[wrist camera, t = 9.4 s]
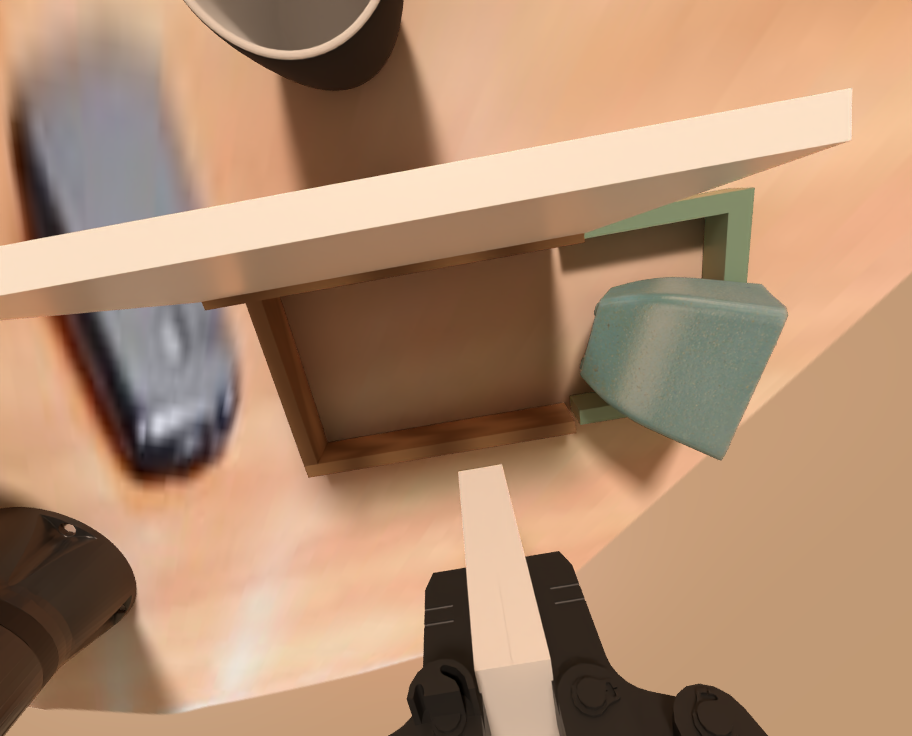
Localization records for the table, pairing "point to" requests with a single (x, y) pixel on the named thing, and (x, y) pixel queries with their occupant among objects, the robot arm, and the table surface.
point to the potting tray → (721, 256)
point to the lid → (411, 213)
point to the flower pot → (683, 355)
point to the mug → (308, 36)
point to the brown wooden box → (394, 444)
